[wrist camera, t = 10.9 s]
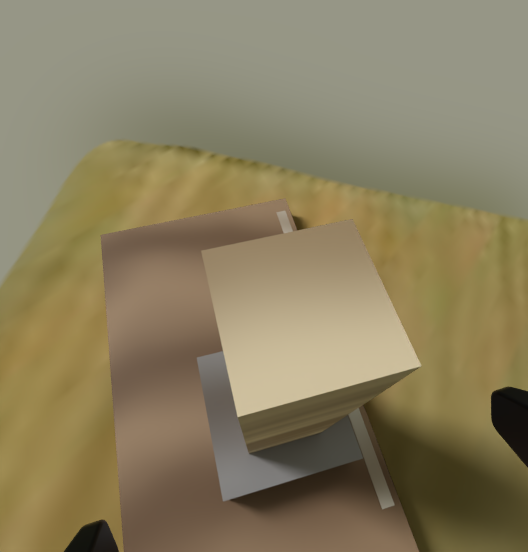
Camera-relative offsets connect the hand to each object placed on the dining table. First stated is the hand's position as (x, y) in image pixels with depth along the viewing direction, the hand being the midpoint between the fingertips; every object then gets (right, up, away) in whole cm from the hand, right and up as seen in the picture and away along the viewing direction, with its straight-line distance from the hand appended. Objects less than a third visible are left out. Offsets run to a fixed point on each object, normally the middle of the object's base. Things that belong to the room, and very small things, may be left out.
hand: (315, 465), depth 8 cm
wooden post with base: (-1, -3, +10) cm, 10 cm away
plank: (-3, -1, +12) cm, 13 cm away
